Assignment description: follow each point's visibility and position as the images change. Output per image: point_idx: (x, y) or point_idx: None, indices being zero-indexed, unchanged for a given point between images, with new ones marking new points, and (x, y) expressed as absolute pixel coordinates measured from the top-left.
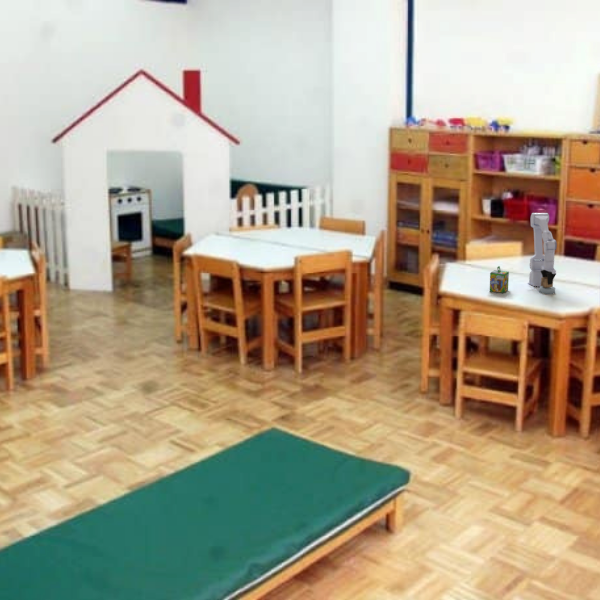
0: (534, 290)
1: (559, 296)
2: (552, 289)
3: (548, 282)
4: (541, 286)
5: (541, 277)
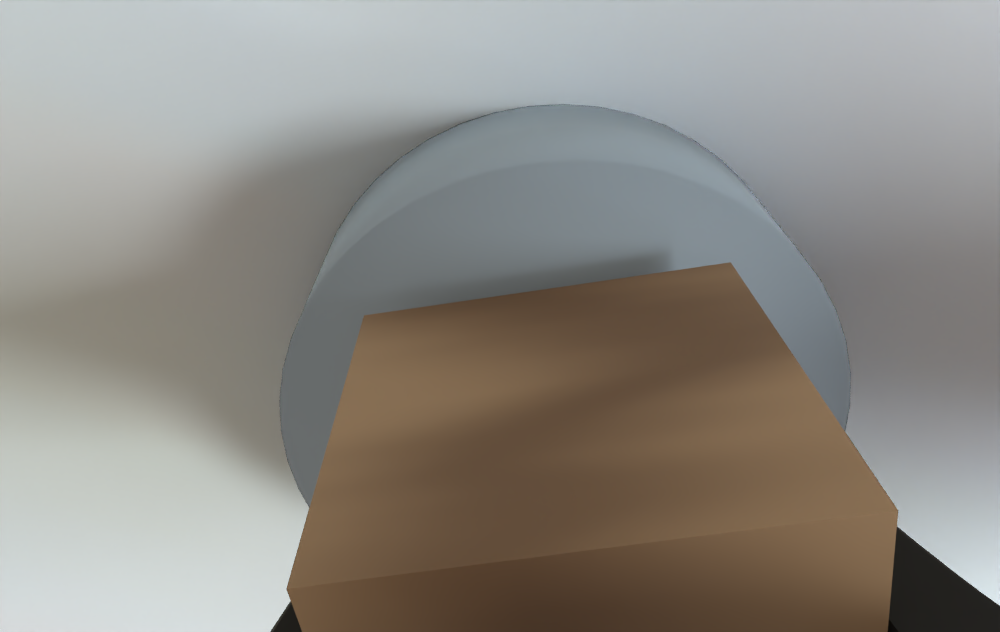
0: (883, 14)
1: (45, 509)
2: None
3: None
4: (758, 282)
5: (882, 516)
